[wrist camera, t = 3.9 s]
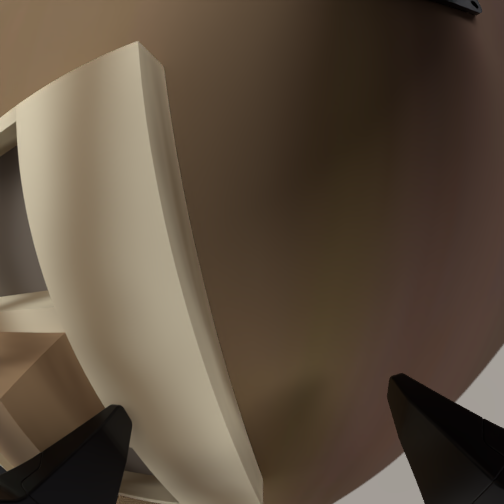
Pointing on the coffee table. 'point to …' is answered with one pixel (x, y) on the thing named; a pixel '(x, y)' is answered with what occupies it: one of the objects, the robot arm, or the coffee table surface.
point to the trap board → (121, 274)
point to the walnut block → (40, 393)
